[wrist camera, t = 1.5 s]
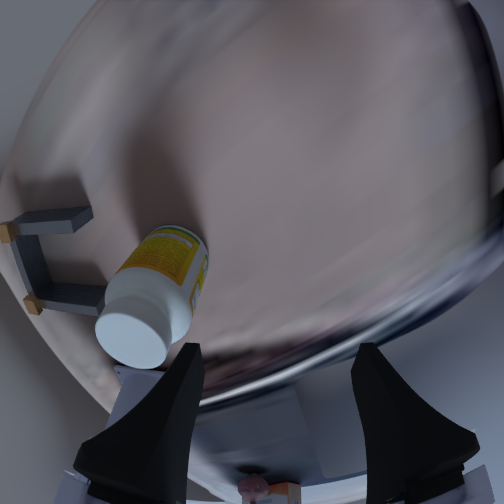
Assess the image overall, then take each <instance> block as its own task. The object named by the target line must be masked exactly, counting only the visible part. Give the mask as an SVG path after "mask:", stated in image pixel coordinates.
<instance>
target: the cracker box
mask: <svg viewBox="0 0 504 504" xmlns="http://www.w3.org/2000/svg"><path fill="white" fill-rule="evenodd" d="M242 504H250V502H249V501H248V500H247V499H245V498H243V497H242ZM256 504H301V485H299V484H295V483H291V482H283V483H278V484H274V485H269V492H268V494H267V495H266V496H265V497H264V498H262V499H260V500H258V501H257V502H256Z"/></svg>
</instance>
